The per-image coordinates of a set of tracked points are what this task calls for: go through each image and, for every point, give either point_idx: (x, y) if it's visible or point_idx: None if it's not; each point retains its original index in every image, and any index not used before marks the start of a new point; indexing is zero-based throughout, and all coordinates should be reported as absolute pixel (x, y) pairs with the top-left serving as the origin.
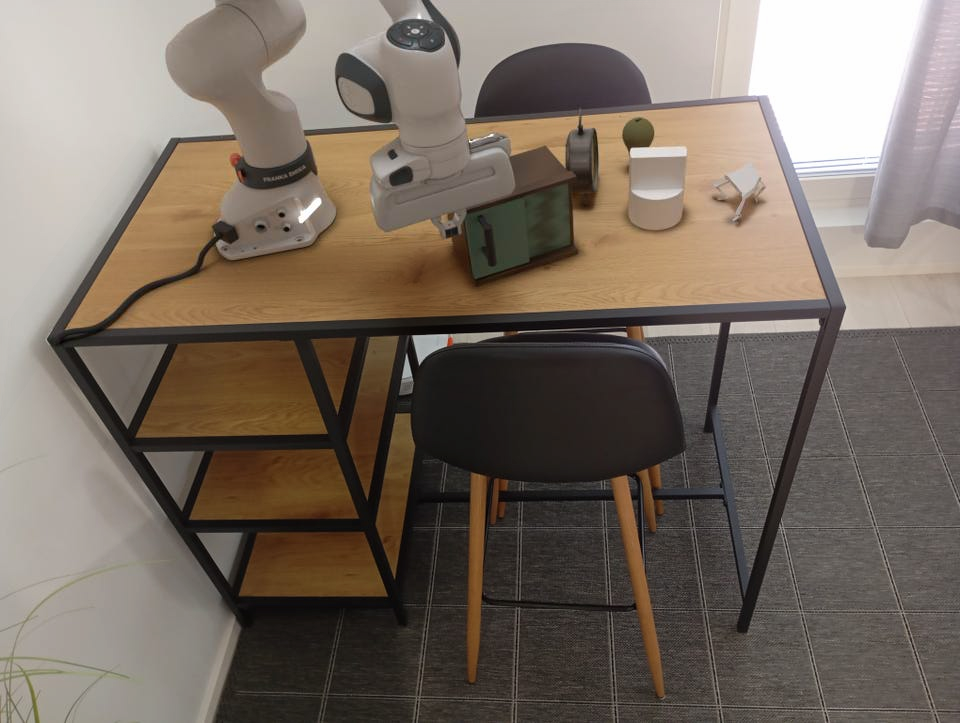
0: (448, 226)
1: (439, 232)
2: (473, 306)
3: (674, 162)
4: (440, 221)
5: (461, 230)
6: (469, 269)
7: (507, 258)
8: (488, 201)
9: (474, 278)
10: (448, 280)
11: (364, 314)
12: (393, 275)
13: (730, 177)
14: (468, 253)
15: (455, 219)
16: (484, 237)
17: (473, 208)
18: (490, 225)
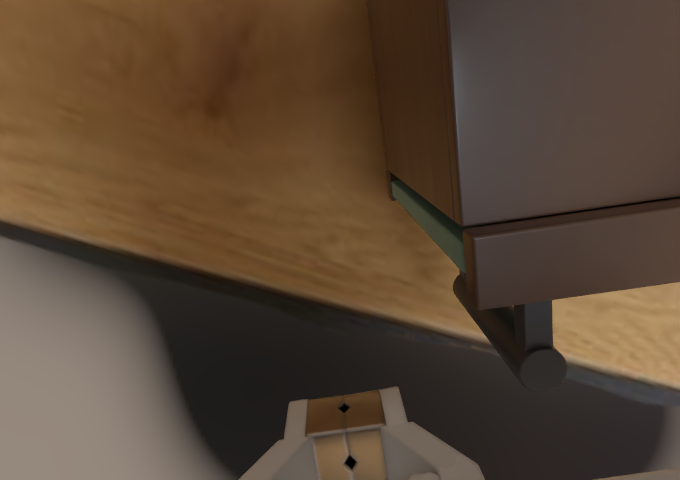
0: (343, 478)
1: (289, 406)
2: (363, 277)
3: None
4: (302, 448)
5: (411, 131)
6: (388, 154)
7: None
8: (646, 272)
9: (393, 195)
10: (315, 140)
11: (50, 211)
12: (142, 48)
13: None
14: (403, 181)
15: (398, 469)
16: (496, 346)
17: (533, 302)
18: (559, 368)
